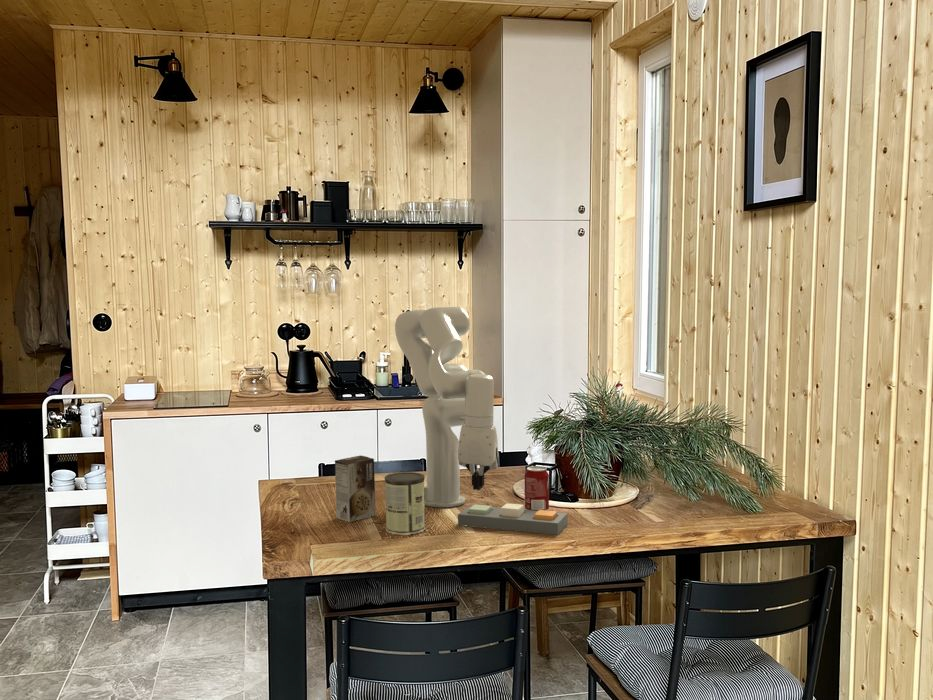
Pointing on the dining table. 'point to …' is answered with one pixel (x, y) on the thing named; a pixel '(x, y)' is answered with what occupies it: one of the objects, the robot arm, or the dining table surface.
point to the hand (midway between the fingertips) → (477, 488)
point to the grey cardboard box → (355, 488)
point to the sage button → (480, 509)
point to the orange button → (545, 515)
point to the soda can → (536, 488)
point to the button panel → (513, 521)
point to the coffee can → (405, 503)
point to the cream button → (512, 510)
